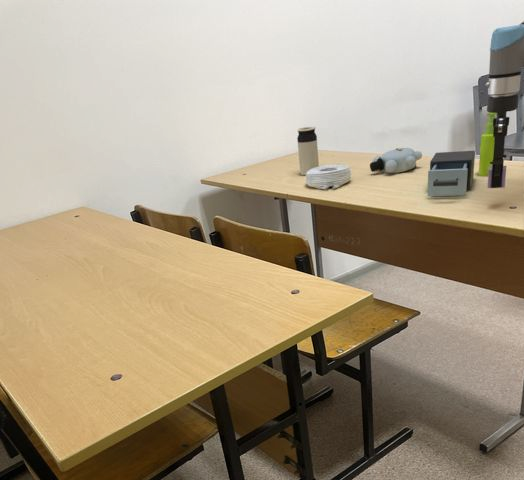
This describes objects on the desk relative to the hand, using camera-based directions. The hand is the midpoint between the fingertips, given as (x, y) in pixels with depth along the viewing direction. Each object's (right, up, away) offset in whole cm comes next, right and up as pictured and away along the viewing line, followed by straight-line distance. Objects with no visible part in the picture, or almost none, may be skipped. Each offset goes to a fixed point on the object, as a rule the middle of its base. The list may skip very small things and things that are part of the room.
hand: (496, 184), depth 150 cm
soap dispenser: (+13, +15, +36) cm, 41 cm away
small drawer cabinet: (-2, +9, +29) cm, 30 cm away
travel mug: (-46, +28, +75) cm, 93 cm away
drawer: (-7, +3, +19) cm, 20 cm away
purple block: (0, 0, 0) cm, 0 cm away
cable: (-41, +17, +54) cm, 70 cm away
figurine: (-14, +24, +59) cm, 66 cm away
